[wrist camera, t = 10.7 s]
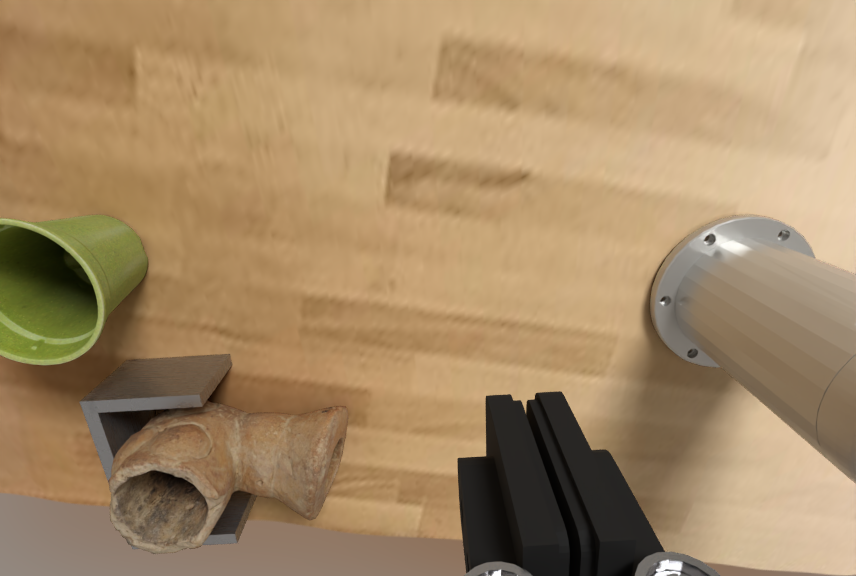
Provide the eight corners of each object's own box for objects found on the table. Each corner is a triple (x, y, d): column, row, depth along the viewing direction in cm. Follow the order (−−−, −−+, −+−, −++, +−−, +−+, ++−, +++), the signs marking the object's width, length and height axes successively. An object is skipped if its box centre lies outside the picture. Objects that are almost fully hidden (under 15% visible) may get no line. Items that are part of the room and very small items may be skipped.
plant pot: (143, 331, 39) (72, 390, 31) (25, 271, 37) (-83, 318, 29) (191, 237, 37) (127, 275, 29) (67, 166, 35) (-40, 186, 27)
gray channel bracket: (229, 354, 40) (199, 394, 35) (259, 488, 45) (237, 543, 40) (126, 360, 40) (79, 401, 35) (167, 493, 45) (132, 549, 40)
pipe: (349, 468, 45) (332, 565, 35) (169, 462, 44) (102, 559, 35) (349, 382, 42) (330, 463, 32) (155, 375, 41) (77, 455, 32)
